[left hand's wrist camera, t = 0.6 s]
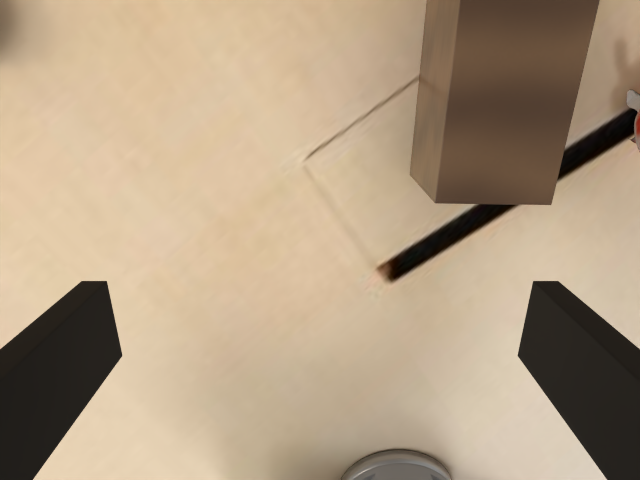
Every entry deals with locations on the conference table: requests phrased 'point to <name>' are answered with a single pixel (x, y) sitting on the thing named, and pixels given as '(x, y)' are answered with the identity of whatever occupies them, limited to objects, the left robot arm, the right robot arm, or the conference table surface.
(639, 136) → the fish
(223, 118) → the conference table surface
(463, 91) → the box
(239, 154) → the conference table surface
